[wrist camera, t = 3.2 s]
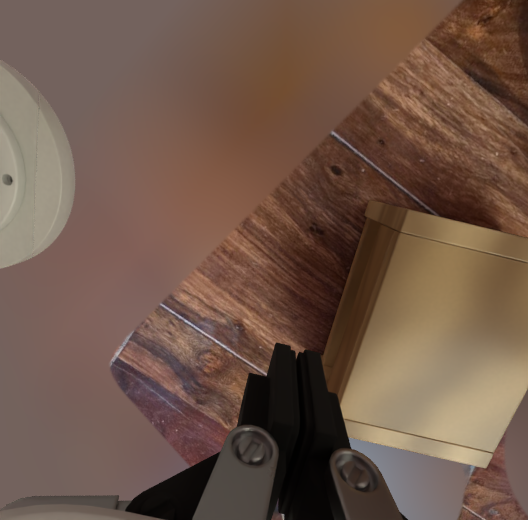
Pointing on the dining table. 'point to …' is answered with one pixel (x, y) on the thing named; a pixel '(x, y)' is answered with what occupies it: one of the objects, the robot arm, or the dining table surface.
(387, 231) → the gold flanged block
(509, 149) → the dining table surface
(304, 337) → the dining table surface
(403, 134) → the dining table surface
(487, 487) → the dining table surface
